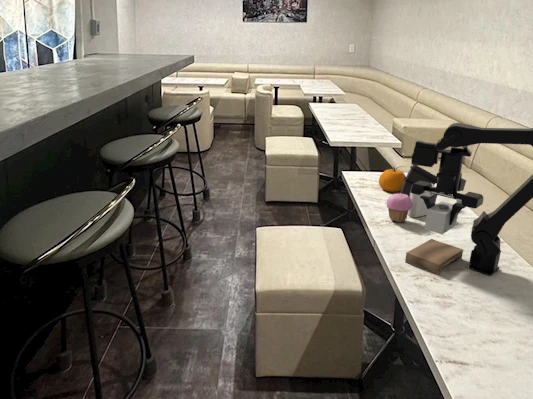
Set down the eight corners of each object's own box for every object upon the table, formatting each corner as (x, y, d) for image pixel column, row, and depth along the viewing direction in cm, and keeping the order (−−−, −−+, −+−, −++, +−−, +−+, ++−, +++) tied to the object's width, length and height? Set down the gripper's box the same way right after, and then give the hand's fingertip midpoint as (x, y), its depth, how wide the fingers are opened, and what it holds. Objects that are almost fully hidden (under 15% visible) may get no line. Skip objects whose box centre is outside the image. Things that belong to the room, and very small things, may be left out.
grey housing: (442, 234, 129) (446, 212, 127) (424, 229, 133) (427, 207, 130) (455, 225, 137) (459, 203, 134) (438, 220, 140) (442, 199, 138)
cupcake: (413, 220, 167) (417, 193, 164) (405, 227, 160) (409, 199, 157) (389, 214, 172) (392, 188, 168) (380, 221, 165) (383, 194, 162)
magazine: (391, 194, 189) (412, 163, 184) (420, 209, 189) (441, 179, 184) (392, 197, 186) (414, 165, 180) (421, 213, 186) (443, 181, 181)
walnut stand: (461, 258, 138) (463, 249, 137) (437, 274, 128) (439, 264, 127) (430, 247, 145) (431, 238, 144) (405, 262, 135) (406, 252, 134)
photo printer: (423, 210, 177) (428, 179, 173) (432, 214, 174) (437, 182, 170) (404, 215, 172) (409, 183, 168) (414, 219, 168) (419, 186, 164)
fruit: (376, 191, 197) (379, 168, 194) (379, 184, 208) (381, 162, 204) (405, 195, 194) (408, 172, 190) (406, 187, 204) (409, 165, 201)
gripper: (494, 171, 129) (484, 223, 134) (429, 158, 140) (422, 207, 146) (481, 179, 121) (470, 234, 126) (413, 165, 133) (406, 216, 138)
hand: (441, 222), depth 134 cm, fingers closed on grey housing, 5 cm apart
